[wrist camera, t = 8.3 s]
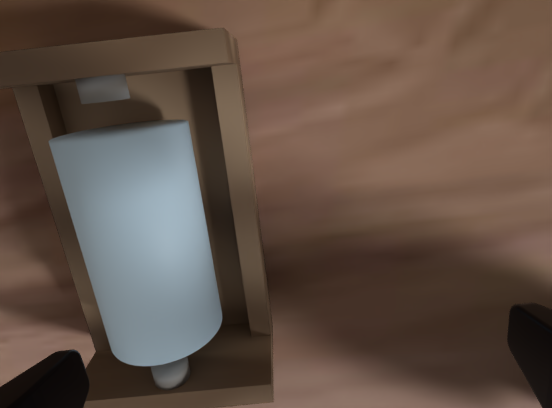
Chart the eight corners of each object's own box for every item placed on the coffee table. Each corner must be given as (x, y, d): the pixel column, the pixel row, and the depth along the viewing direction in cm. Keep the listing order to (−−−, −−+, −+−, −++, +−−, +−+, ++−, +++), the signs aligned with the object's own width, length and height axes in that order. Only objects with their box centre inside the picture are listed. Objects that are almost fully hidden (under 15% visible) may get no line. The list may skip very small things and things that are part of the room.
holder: (272, 326, 22) (273, 402, 17) (115, 341, 22) (70, 420, 17) (236, 40, 17) (223, 27, 12) (33, 62, 17) (-64, 59, 12)
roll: (229, 291, 20) (211, 362, 15) (135, 299, 20) (89, 370, 15) (200, 115, 17) (167, 134, 12) (90, 126, 17) (15, 149, 12)
